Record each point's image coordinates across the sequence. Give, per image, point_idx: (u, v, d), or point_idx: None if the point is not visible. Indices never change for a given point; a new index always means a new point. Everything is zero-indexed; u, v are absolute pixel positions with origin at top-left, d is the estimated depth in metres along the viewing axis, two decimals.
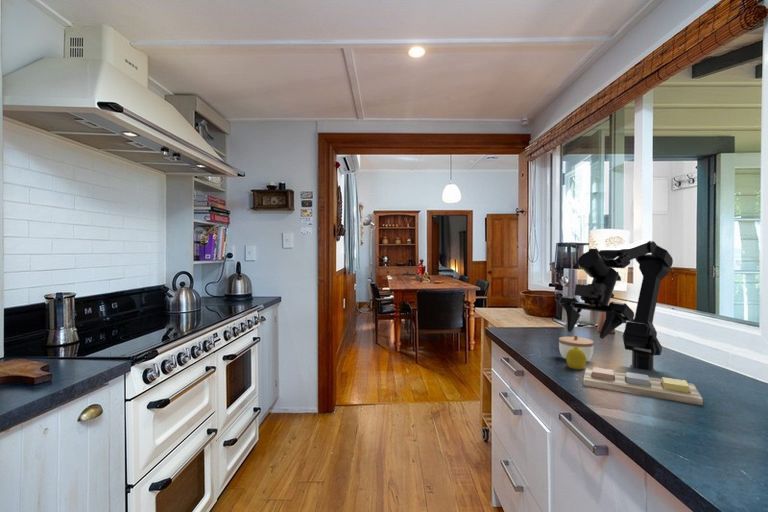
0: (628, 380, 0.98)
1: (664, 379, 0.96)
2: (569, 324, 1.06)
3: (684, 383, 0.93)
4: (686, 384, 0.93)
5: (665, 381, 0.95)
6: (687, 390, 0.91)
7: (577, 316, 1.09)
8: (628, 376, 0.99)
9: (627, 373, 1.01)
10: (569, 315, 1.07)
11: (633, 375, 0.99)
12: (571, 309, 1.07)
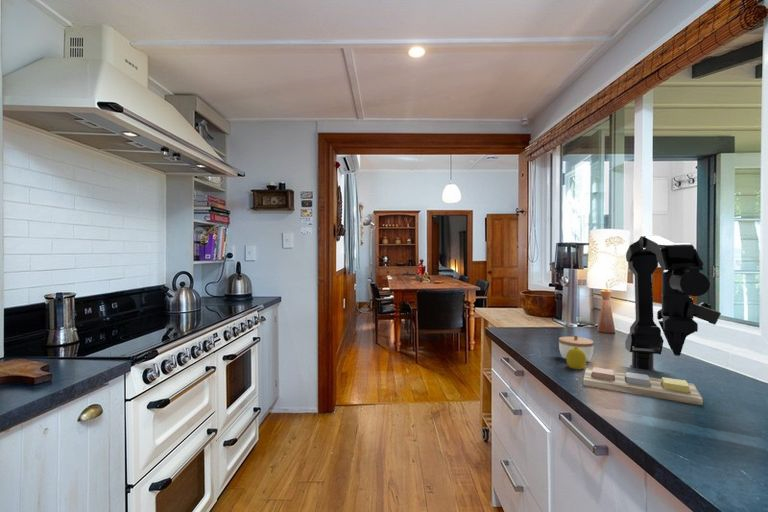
0: (628, 380, 0.98)
1: (664, 379, 0.96)
2: None
3: (684, 383, 0.93)
4: (686, 384, 0.93)
5: (665, 381, 0.95)
6: (687, 390, 0.91)
7: None
8: (628, 376, 0.99)
9: (627, 373, 1.01)
10: (684, 339, 0.90)
11: (633, 375, 0.99)
12: None
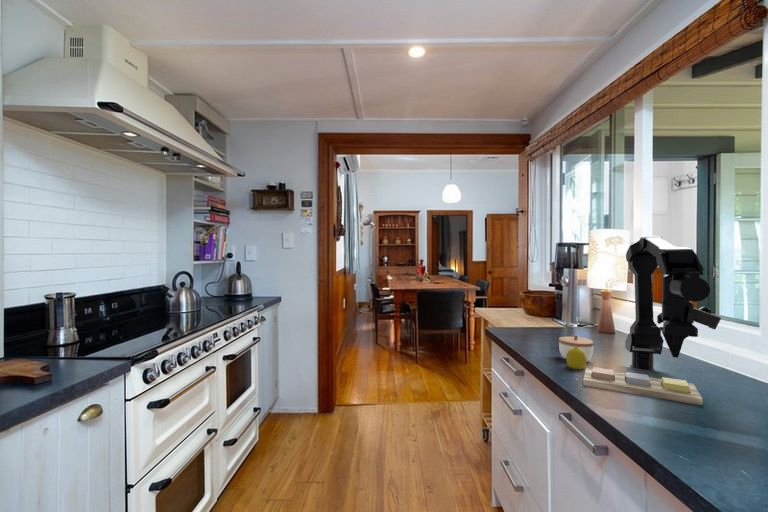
0: (628, 380, 0.98)
1: (664, 379, 0.96)
2: None
3: (684, 383, 0.93)
4: (686, 384, 0.93)
5: (665, 381, 0.95)
6: (687, 390, 0.91)
7: None
8: (628, 376, 0.99)
9: (627, 373, 1.01)
10: (682, 341, 0.93)
11: (633, 375, 0.99)
12: None
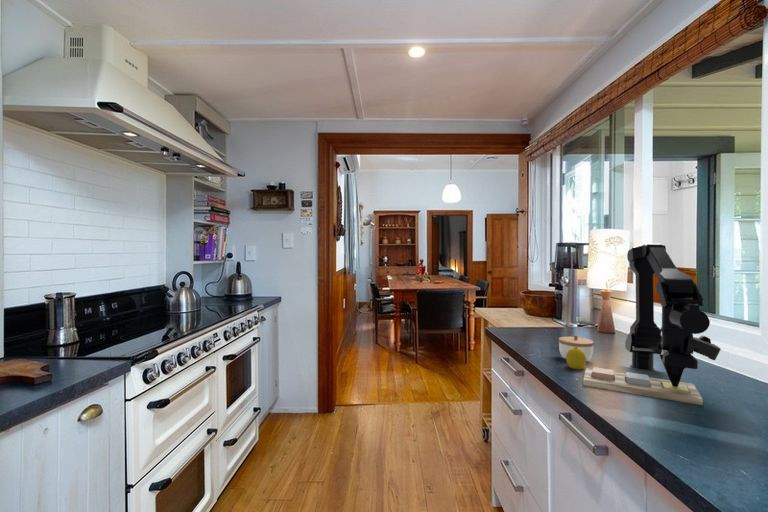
0: (628, 380, 0.98)
1: (664, 384, 0.96)
2: None
3: (684, 388, 0.93)
4: (686, 389, 0.93)
5: (665, 386, 0.95)
6: None
7: None
8: (628, 376, 0.99)
9: (627, 373, 1.01)
10: None
11: (633, 375, 0.99)
12: None
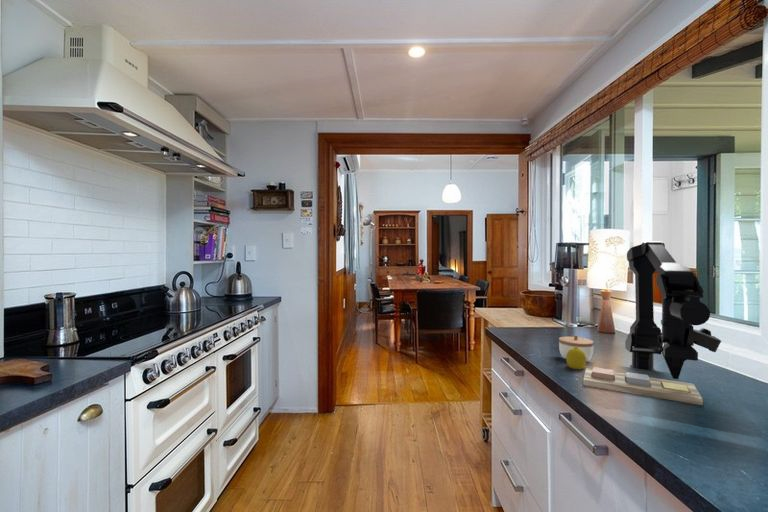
0: (628, 380, 0.98)
1: (664, 384, 0.96)
2: None
3: (684, 388, 0.93)
4: (686, 389, 0.93)
5: (665, 386, 0.95)
6: None
7: None
8: (628, 376, 0.99)
9: (627, 373, 1.01)
10: None
11: (633, 375, 0.99)
12: None
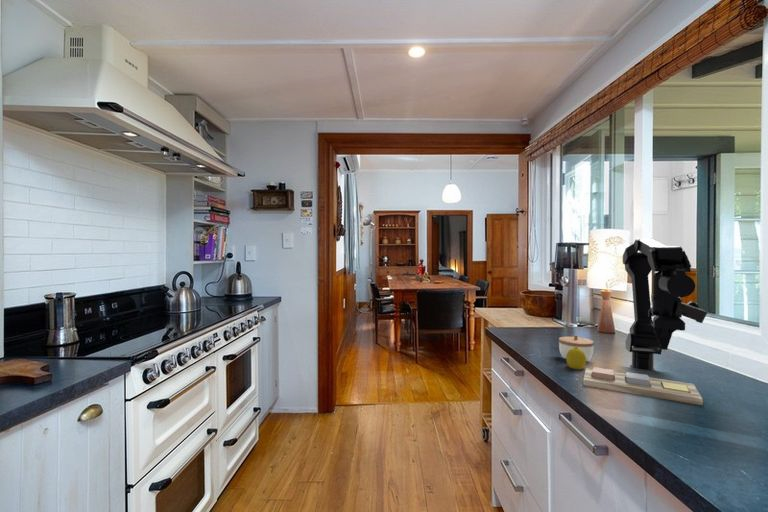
0: (628, 380, 0.98)
1: (664, 384, 0.96)
2: None
3: (684, 388, 0.93)
4: (686, 389, 0.93)
5: (665, 386, 0.95)
6: None
7: None
8: (628, 376, 0.99)
9: (627, 373, 1.01)
10: None
11: (633, 375, 0.99)
12: None
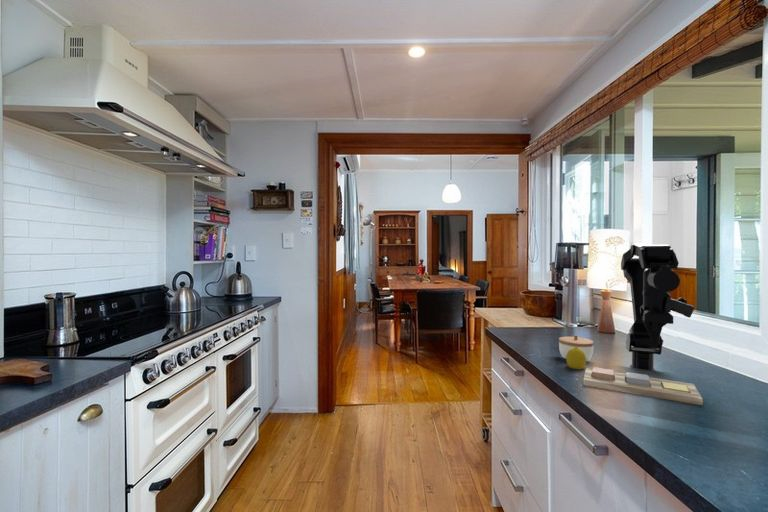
0: (628, 380, 0.98)
1: (664, 384, 0.96)
2: None
3: (684, 388, 0.93)
4: (686, 389, 0.93)
5: (665, 386, 0.95)
6: None
7: None
8: (628, 376, 0.99)
9: (627, 373, 1.01)
10: None
11: (633, 375, 0.99)
12: None
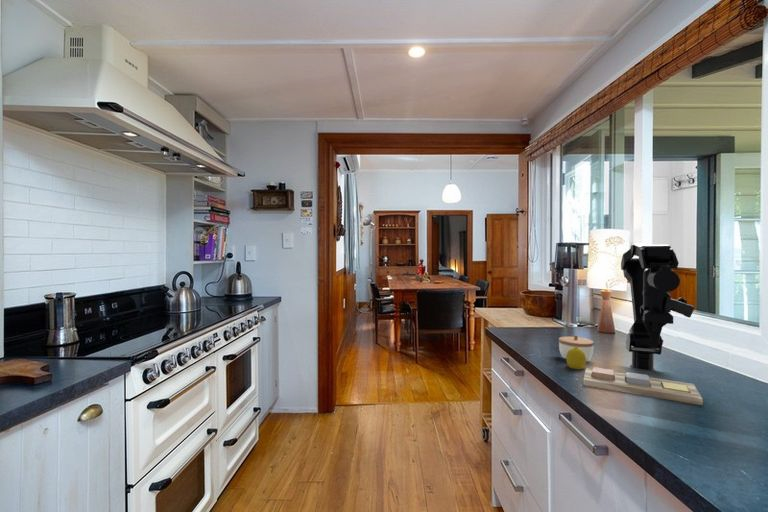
0: (628, 380, 0.98)
1: (664, 384, 0.96)
2: None
3: (684, 388, 0.93)
4: (686, 389, 0.93)
5: (665, 386, 0.95)
6: None
7: None
8: (628, 376, 0.99)
9: (627, 373, 1.01)
10: None
11: (633, 375, 0.99)
12: None
